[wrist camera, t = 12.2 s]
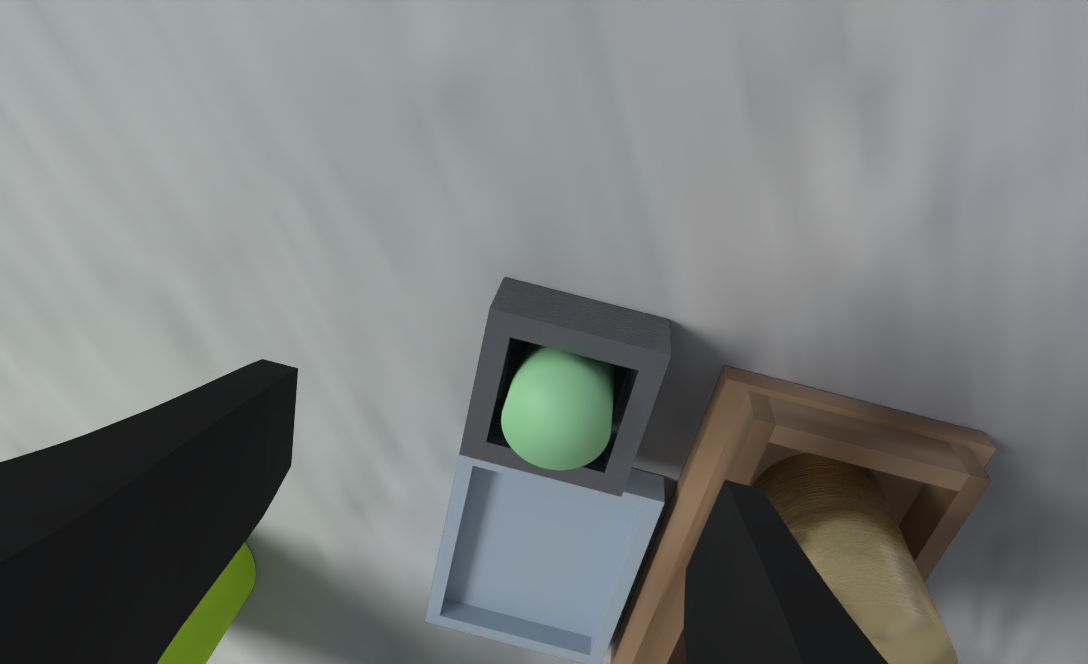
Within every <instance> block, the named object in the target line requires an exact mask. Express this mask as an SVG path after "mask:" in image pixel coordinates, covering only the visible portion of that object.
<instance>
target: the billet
mask: <svg viewBox="0 0 1088 664" xmlns="http://www.w3.org/2000/svg"><path fill="white" fill-rule="evenodd" d="M753 487H756V488H759V489H762V491H763V492H764V494H765V495H766V496H767V498H768V499H769V501H770V502H771V503H772V505H773V506H774V508H775V509H776V511H777V512H778V514H779V515H780V517H781V518H782V520H783V521H784V523H785V524H786V526H787V527H788V529H789V530H790V532H791V533H792V535H793V536H794V538H795V539H796V541H797V542H798V544H799V545H800V547H801V548H802V550H803V551H804V553H805V554H806V556H807V557H808V558H809V560H810V561H811V563H812V564H813V566H814V567H815V569H816V570H817V571H818V573H819V574H820V576H821V577H822V578H823V580H824V581H825V583H826V584H827V585H828V587H829V588H830V590H831V591H832V592H833V594H834V595H835V596H836V598H837V599H838V600H839V602H840V603H841V604H842V606H843V607H844V609H845V610H846V611H847V613H848V614H849V615H850V616H851V618H852V619H853V620H854V621H855V623H856V624H857V625H858V627H859V628H860V629H861V630H862V632H863V633H864V634H865V635H866V637H867V638H868V639H869V640H870V642H871V643H872V644H873V645H874V647H875V648H876V649H877V650H878V652H879V653H880V654H881V655H882V656H883V658H884V659H885V660H886V661H887V662H888V663H889V664H958V660H957V656H956V652H955V650H954V648H953V646H952V643H951V641H950V639H949V637H948V635H947V632H946V630H945V628H944V626H943V624H942V621H941V619H940V617H939V615H938V613H937V610H936V608H935V606H934V604H933V602H932V599H931V597H930V595H929V593H928V591H927V588H926V586H925V584H924V582H923V580H922V577H921V575H920V573H919V571H918V569H917V566H916V564H915V562H914V560H913V558H912V555H911V553H910V551H909V549H908V547H907V544H906V542H905V540H904V538H903V536H902V533H901V531H900V529H899V527H898V525H897V522H896V520H895V518H894V516H893V514H892V511H891V509H890V507H889V505H888V503H887V500H886V498H885V496H884V494H883V492H882V489H881V487H880V485H879V483H878V481H877V479H876V478H875V476H874V475H873V474H872V472H871V471H870V470H869V469H868V468H866V467H862V466H858V465H855V464H851V463H847V462H843V461H839V460H835V459H832V458H828V457H824V456H820V455H816V454H812V453H808V452H807V453H801V454H797V455H793V456H790V457H787V458H785V459H783V460H780V461H778V462H777V463H775V464H773V465H772V466H770V467H769V468H768V469H766V470H765V471H764V472H763V473H762V474H761V475H760V476H759V477H758V479H757V480H756V481H755V483H754V485H753Z"/></svg>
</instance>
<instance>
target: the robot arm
mask: <svg viewBox="0 0 1088 664" xmlns="http://www.w3.org/2000/svg"><path fill="white" fill-rule="evenodd" d="M297 375H298V368H295V367H291V366H287V365H283V364H279V363H275V362H271V361H268V360H264V359H261V360H259V361H256V362H254V363H251V364H249V365H247V366H244V367H242V368H240V369H238V370H235V371H233V372H231V373H229V374H227V375H225V376H222V377H220V378H218V379H216V380H214V381H212V382H209V383H207V384H205V385H203V386H201V387H198V388H196V389H194V390H192V391H189V392H187V393H185V394H183V395H181V396H178V397H176V398H174V399H172V400H169V401H167V402H165V403H163V404H160V405H158V406H156V407H153V408H151V409H149V410H146V411H144V412H141V413H139V414H136V415H134V416H131V417H129V418H126V419H124V420H121V421H119V422H116V423H114V424H111V425H108V426H106V427H103V428H101V429H98V430H96V431H93V432H91V433H88V434H86V435H83V436H80V437H77V438H75V439H72V440H69V441H66V442H63V443H60V444H57V445H54V446H51V447H48V448H45V449H42V450H39V451H36V452H32V453H29V454H26V455H23V456H19V457H16V458H13V459H10V460H6V461H3V462H0V664H157V663H158V661H159V660H160V658H161V656H162V655H163V653H164V652H165V650H166V649H167V647H168V646H169V645H170V643H171V642H172V640H173V639H174V637H175V636H176V634H177V633H178V631H179V630H180V628H181V627H182V626H183V624H184V623H185V622H186V620H187V619H188V618H189V616H190V615H191V614H192V612H193V611H194V610H195V608H196V607H197V606H198V604H199V603H200V601H201V600H202V599H203V597H204V596H205V595H206V593H207V592H208V591H209V589H210V588H211V587H212V585H213V584H214V583H215V581H216V580H217V579H218V577H219V576H220V575H221V573H222V572H223V571H224V569H225V568H226V567H227V565H228V564H229V563H230V561H231V560H232V558H233V557H234V556H235V554H236V553H237V552H238V550H239V549H240V548H241V546H242V545H243V543H244V542H245V541H246V539H247V538H248V537H249V535H250V534H251V533H252V531H253V530H254V528H255V527H256V526H257V524H258V523H259V521H260V520H261V519H262V517H263V516H264V514H265V512H266V510H267V509H268V507H269V505H270V503H271V502H272V500H273V498H274V496H275V495H276V493H277V491H278V489H279V487H280V485H281V484H282V482H283V480H284V478H285V476H286V474H287V472H288V470H289V469H290V467H291V460H292V446H293V432H294V418H295V403H296V389H297ZM684 638H685V650H686V662H687V664H889V663H888V662H887V661H886V660H885V659H884V658H883V656H882V655H881V654H880V653H879V652H878V650H877V649H876V648H875V647H874V645H873V644H872V643H871V642H870V640H869V639H868V638H867V637H866V635H865V634H864V633H863V632H862V630H861V629H860V628H859V627H858V625H857V624H856V623H855V621H854V620H853V619H852V618H851V616H850V615H849V614H848V613H847V611H846V610H845V609H844V607H843V606H842V604H841V603H840V602H839V600H838V599H837V598H836V596H835V595H834V594H833V592H832V591H831V590H830V588H829V587H828V585H827V584H826V583H825V581H824V580H823V578H822V577H821V576H820V574H819V573H818V571H817V570H816V569H815V567H814V566H813V564H812V563H811V561H810V560H809V558H808V557H807V556H806V554H805V553H804V551H803V550H802V548H801V547H800V545H799V544H798V542H797V541H796V539H795V538H794V536H793V535H792V533H791V532H790V530H789V529H788V527H787V526H786V524H785V523H784V521H783V520H782V518H781V517H780V515H779V514H778V512H777V511H776V509H775V508H774V506H773V505H772V503H771V502H770V501H769V499H768V498H767V496H766V495H765V494H764V492H763V491H762V489H759V488H756V487H752V486H748V485H744V484H740V483H736V482H732V481H729V480H724V482H723V485H722V487H721V489H720V491H719V494H718V496H717V498H716V501H715V503H714V505H713V508H712V510H711V512H710V514H709V517H708V519H707V521H706V524H705V526H704V528H703V531H702V533H701V535H700V537H699V540H698V542H697V544H696V547H695V549H694V551H693V554H692V556H691V558H690V560H689V563H688V565H687V567H686V574H685V595H684Z"/></svg>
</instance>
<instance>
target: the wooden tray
mask: <svg viewBox="0 0 1088 664" xmlns="http://www.w3.org/2000/svg"><path fill="white" fill-rule="evenodd" d="M995 450H996V447H995V446H994V445H993V443H992V442H991V440H990V439H989V438H988V436H987V435H986V434H985V433H984V432H980V431H976V430H972V429H968V428H964V427H960V426H957V425H953V424H949V423H945V422H941V421H937V420H933V419H930V418H926V417H922V416H918V415H914V414H910V413H906V412H902V411H899V410H895V409H891V408H887V407H883V406H879V405H875V404H871V403H868V402H864V401H860V400H856V399H852V398H848V397H844V396H841V395H837V394H833V393H829V392H825V391H821V390H817V389H813V388H810V387H806V386H802V385H798V384H794V383H790V382H786V381H782V380H779V379H775V378H771V377H767V376H763V375H759V374H755V373H752V372H748V371H744V370H740V369H736V368H732V367H728V366H724V367H723V369H722V372H721V374H720V377H719V380H718V382H717V385H716V387H715V390H714V392H713V395H712V397H711V400H710V402H709V405H708V407H707V410H706V412H705V415H704V417H703V420H702V422H701V425H700V427H699V430H698V432H697V435H696V438H695V440H694V443H693V445H692V448H691V450H690V453H689V455H688V458H687V460H686V463H685V465H684V468H683V470H682V473H681V475H680V478H679V480H678V483H677V485H676V488H675V491H674V493H673V496H672V498H671V501H670V503H669V506H668V508H667V511H666V513H665V516H664V518H663V521H662V523H661V526H660V528H659V531H658V533H657V536H656V538H655V541H654V544H653V546H652V549H651V551H650V554H649V556H648V559H647V561H646V564H645V566H644V569H643V571H642V574H641V576H640V579H639V581H638V584H637V586H636V589H635V591H634V594H633V596H632V599H631V602H630V604H629V607H628V609H627V612H626V614H625V617H624V619H623V622H622V624H621V627H620V629H619V632H618V634H617V637H616V639H615V642H614V644H613V647H612V649H611V662H610V664H687V662H686V650H685V638H684V595H685V574H686V567H687V565H688V563H689V560H690V558H691V556H692V554H693V551H694V549H695V547H696V544H697V542H698V540H699V537H700V535H701V533H702V531H703V528H704V526H705V524H706V521H707V519H708V517H709V514H710V512H711V510H712V508H713V505H714V503H715V501H716V498H717V496H718V494H719V491H720V489H721V487H722V485H723V482H724V480H729V481H732V482H736V483H740V484H744V485H748V486H752V487H753V485H754V483H755V481H756V480H757V479H758V477H759V476H760V475H761V474H762V473H763V472H764V471H765V470H766V469H768V468H769V467H770V466H772V465H773V464H775V463H777V462H778V461H780V460H783V459H785V458H787V457H790V456H793V455H797V454H801V453H807V452H808V453H812V454H816V455H820V456H824V457H828V458H832V459H835V460H839V461H843V462H847V463H851V464H855V465H858V466H862V467H866V468H868V469H869V470H870V471H871V472H872V474H873V475H874V476H875V478H876V479H877V481H878V483H879V485H880V487H881V489H882V492H883V494H884V496H885V498H886V500H887V503H888V505H889V507H890V509H891V511H892V514H893V516H894V518H895V520H896V522H897V525H898V527H899V529H900V531H901V533H902V536H903V538H904V540H905V542H906V544H907V547H908V549H909V551H910V553H911V555H912V558H913V560H914V562H915V564H916V566H917V569H918V571H919V573H920V575H921V577H922V580H923V582H925V580H926V579H927V577H928V576H929V574H930V573H931V571H932V570H933V568H934V567H935V565H936V564H937V562H938V561H939V559H940V558H941V556H942V555H943V553H944V552H945V550H946V549H947V547H948V546H949V544H950V543H951V541H952V539H953V538H954V536H955V535H956V533H957V532H958V530H959V529H960V527H961V526H962V524H963V523H964V521H965V520H966V518H967V517H968V515H969V514H970V512H971V511H972V509H973V508H974V506H975V505H976V503H977V502H978V500H979V498H980V497H981V495H982V494H983V492H984V491H985V489H986V488H987V486H988V485H989V483H990V482H991V479H990V478H989V476H988V475H987V473H986V472H985V470H984V467H985V466H986V464H987V462H988V461H989V459H990V458H991V456H992V455H993V453H994V452H995Z"/></svg>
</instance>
